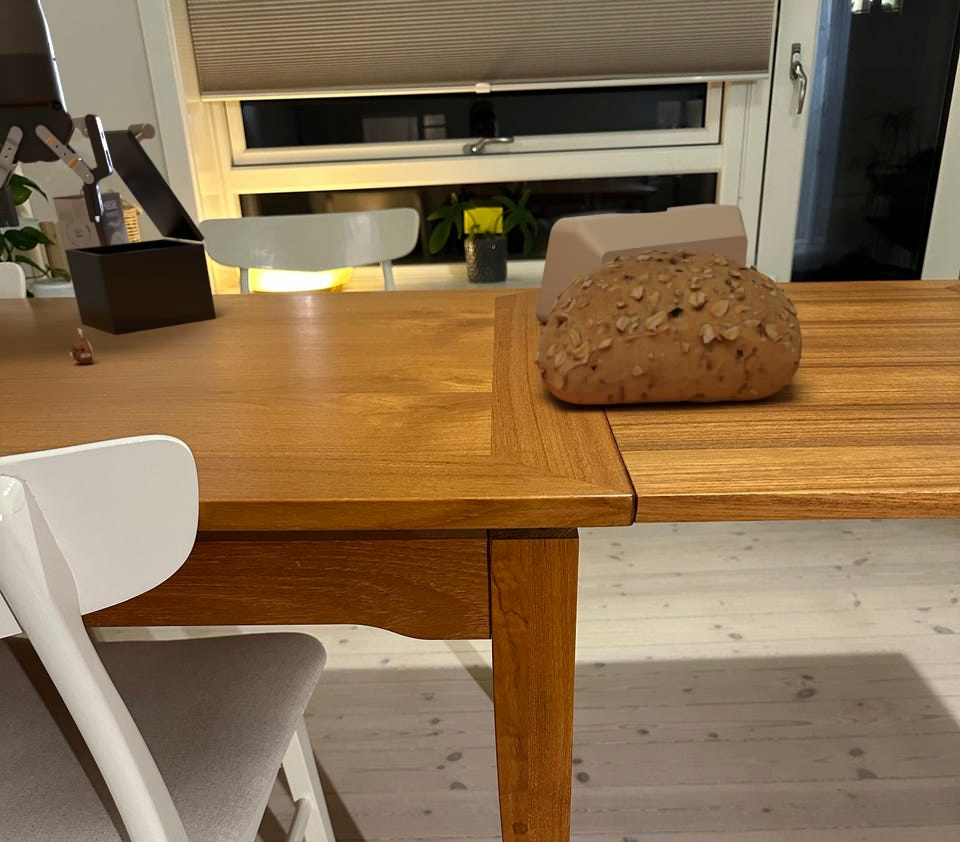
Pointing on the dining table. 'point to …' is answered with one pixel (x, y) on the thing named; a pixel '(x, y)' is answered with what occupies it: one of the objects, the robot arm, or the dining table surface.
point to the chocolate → (82, 350)
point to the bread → (669, 332)
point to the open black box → (141, 285)
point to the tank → (636, 241)
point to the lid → (149, 182)
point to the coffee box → (81, 230)
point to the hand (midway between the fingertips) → (55, 224)
